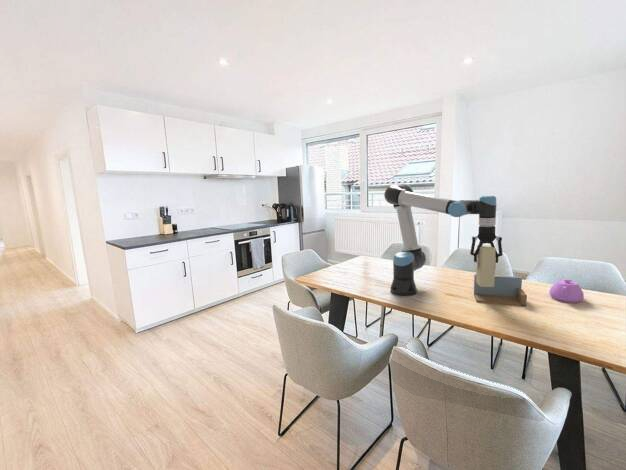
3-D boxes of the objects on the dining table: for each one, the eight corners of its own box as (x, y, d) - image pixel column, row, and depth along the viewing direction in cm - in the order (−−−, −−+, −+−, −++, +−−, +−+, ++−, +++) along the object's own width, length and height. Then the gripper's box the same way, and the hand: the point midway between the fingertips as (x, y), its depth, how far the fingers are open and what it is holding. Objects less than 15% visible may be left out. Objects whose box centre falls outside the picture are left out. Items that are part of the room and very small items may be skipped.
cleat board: (476, 302, 155) (477, 280, 154) (473, 294, 166) (474, 274, 164) (526, 306, 147) (527, 283, 145) (519, 298, 158) (521, 276, 156)
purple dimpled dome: (585, 296, 157) (587, 277, 155) (581, 307, 143) (583, 286, 142) (552, 290, 167) (553, 272, 165) (546, 300, 153) (547, 281, 152)
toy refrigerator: (496, 287, 152) (497, 247, 149) (480, 287, 154) (481, 248, 151) (490, 282, 160) (491, 244, 157) (475, 282, 161) (476, 245, 159)
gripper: (466, 226, 153) (464, 269, 156) (511, 226, 145) (509, 271, 148) (464, 224, 160) (463, 265, 163) (508, 224, 152) (506, 267, 155)
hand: (485, 268), depth 156 cm, fingers closed on toy refrigerator, 7 cm apart
